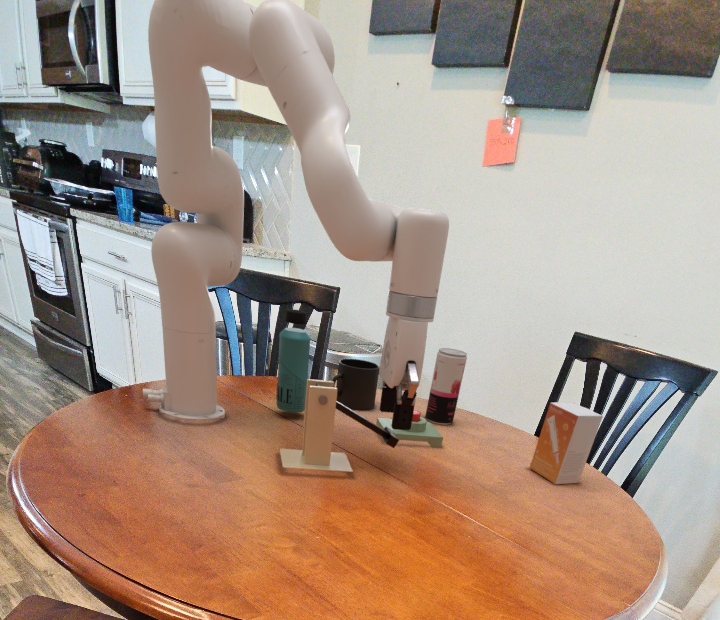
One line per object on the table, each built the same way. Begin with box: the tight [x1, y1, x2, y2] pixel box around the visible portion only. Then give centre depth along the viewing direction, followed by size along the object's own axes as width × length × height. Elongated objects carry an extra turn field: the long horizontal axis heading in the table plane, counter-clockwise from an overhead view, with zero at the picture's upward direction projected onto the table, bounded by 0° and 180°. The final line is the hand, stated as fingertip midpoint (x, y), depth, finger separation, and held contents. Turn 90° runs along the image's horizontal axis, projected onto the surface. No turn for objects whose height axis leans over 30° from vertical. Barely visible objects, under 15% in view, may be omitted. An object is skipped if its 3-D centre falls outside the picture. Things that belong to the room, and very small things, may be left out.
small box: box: [529, 401, 604, 485], centre depth 112 cm, size 8×6×13 cm
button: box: [412, 409, 422, 422], centre depth 121 cm, size 4×4×2 cm
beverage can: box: [424, 347, 468, 426], centre depth 133 cm, size 7×6×15 cm
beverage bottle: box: [275, 308, 312, 413], centre depth 120 cm, size 6×7×20 cm
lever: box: [315, 383, 400, 449], centre depth 99 cm, size 16×5×2 cm, turn 100°
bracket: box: [279, 378, 354, 473], centre depth 99 cm, size 12×9×14 cm
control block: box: [375, 416, 444, 449], centre depth 123 cm, size 12×10×4 cm
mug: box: [331, 358, 380, 411], centre depth 135 cm, size 9×12×9 cm
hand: (394, 420), depth 101 cm, fingers open, 9 cm apart
